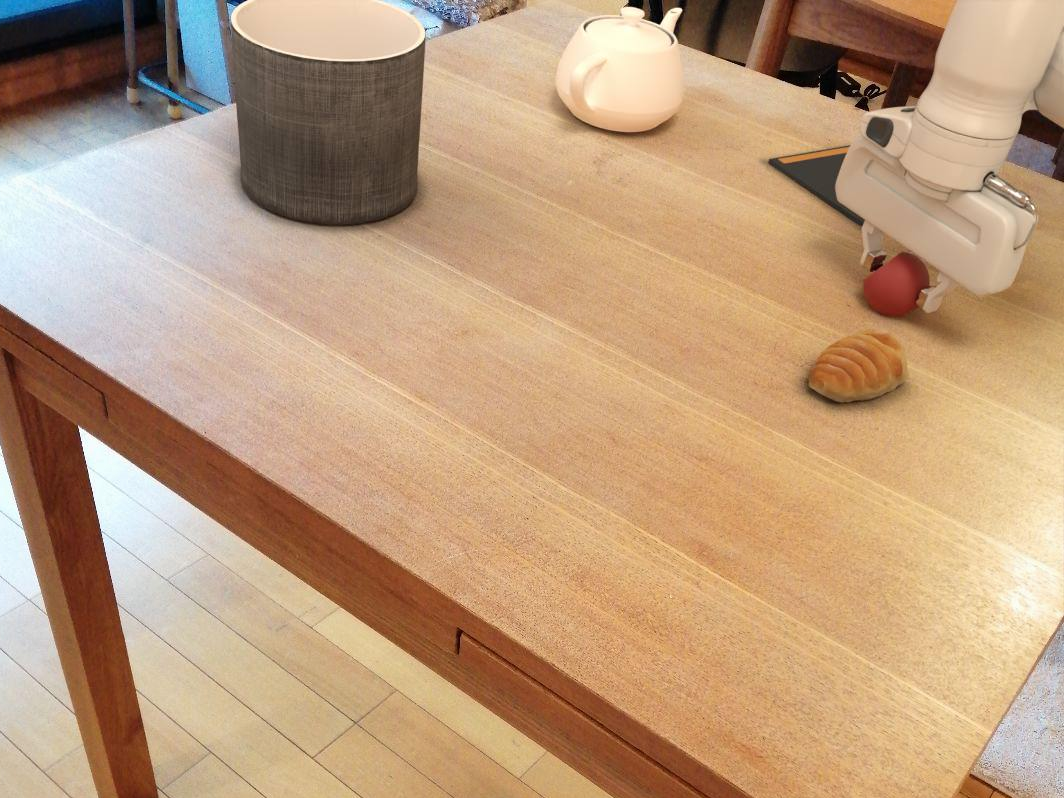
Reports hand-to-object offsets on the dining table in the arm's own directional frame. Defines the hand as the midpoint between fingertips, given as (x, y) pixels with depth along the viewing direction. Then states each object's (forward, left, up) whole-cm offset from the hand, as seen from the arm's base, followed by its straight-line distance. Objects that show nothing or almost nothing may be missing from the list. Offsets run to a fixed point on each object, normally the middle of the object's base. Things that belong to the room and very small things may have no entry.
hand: (896, 287), depth 106 cm
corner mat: (-19, -22, -2) cm, 29 cm away
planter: (+42, -40, -2) cm, 58 cm away
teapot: (+1, -47, -2) cm, 47 cm away
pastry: (+13, +8, -2) cm, 15 cm away
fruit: (0, +1, -2) cm, 3 cm away
